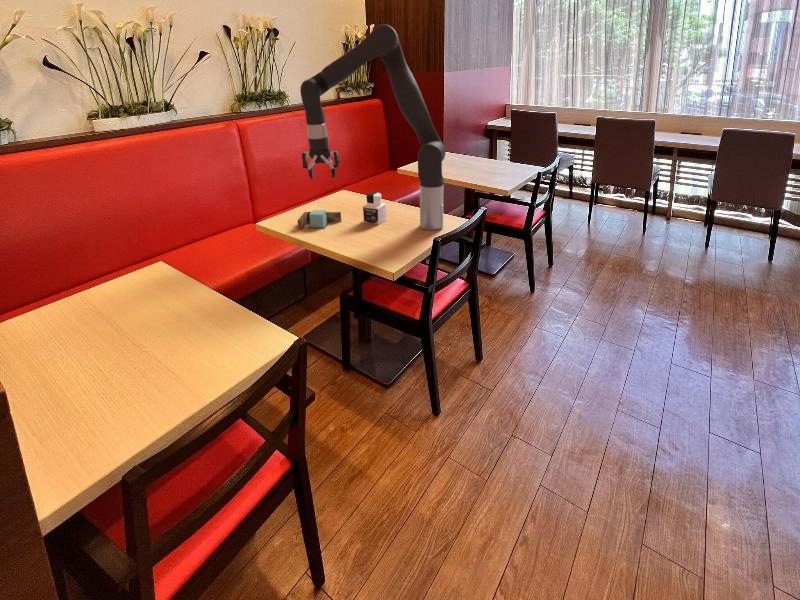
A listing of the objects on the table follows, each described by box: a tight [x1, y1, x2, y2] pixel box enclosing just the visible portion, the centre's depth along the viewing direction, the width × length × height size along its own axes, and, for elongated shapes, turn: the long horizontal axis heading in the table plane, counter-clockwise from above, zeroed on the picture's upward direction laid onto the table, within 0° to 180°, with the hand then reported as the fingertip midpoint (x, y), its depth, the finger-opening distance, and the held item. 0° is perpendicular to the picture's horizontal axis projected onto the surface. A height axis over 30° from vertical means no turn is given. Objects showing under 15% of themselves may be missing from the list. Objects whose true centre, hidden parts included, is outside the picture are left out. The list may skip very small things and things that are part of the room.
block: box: [309, 209, 327, 228], centre depth 200 cm, size 6×6×6 cm
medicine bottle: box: [362, 191, 387, 226], centre depth 201 cm, size 7×7×12 cm
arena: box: [296, 211, 342, 231], centre depth 201 cm, size 16×11×4 cm
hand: (323, 178), depth 193 cm, fingers open, 8 cm apart
